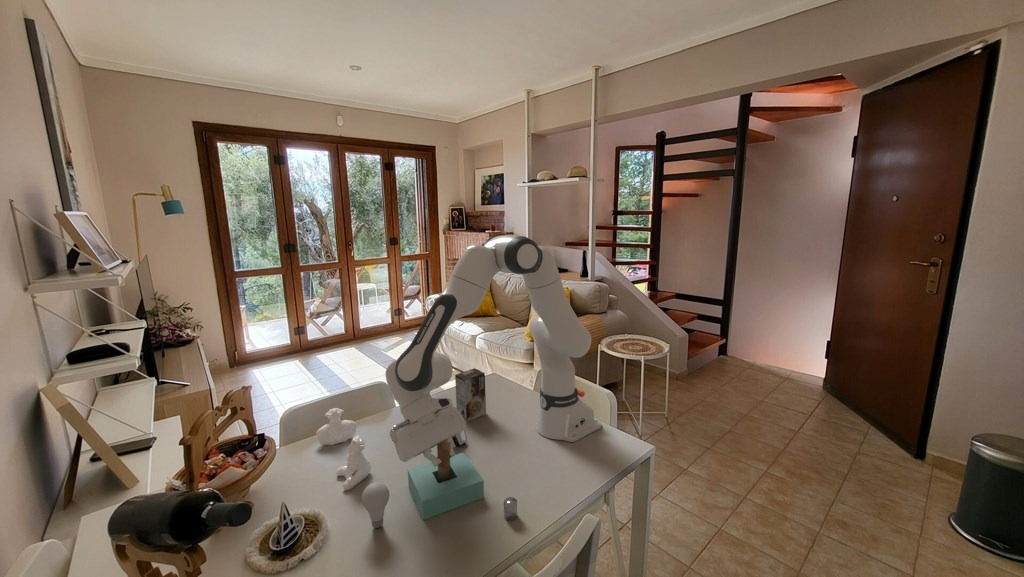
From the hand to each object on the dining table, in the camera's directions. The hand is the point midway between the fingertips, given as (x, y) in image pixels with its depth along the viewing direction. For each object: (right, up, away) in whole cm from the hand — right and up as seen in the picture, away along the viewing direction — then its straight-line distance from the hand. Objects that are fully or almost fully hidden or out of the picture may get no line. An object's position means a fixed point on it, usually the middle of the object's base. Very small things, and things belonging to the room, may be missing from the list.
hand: (445, 460), depth 105 cm
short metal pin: (+17, -11, -7) cm, 21 cm away
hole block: (0, -9, +2) cm, 9 cm away
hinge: (-2, -4, +30) cm, 31 cm away
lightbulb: (-14, -12, -10) cm, 21 cm away
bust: (-40, -5, +27) cm, 49 cm away
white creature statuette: (-26, -8, +9) cm, 29 cm away
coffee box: (+2, -2, +43) cm, 43 cm away
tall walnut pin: (0, -6, +1) cm, 6 cm away
